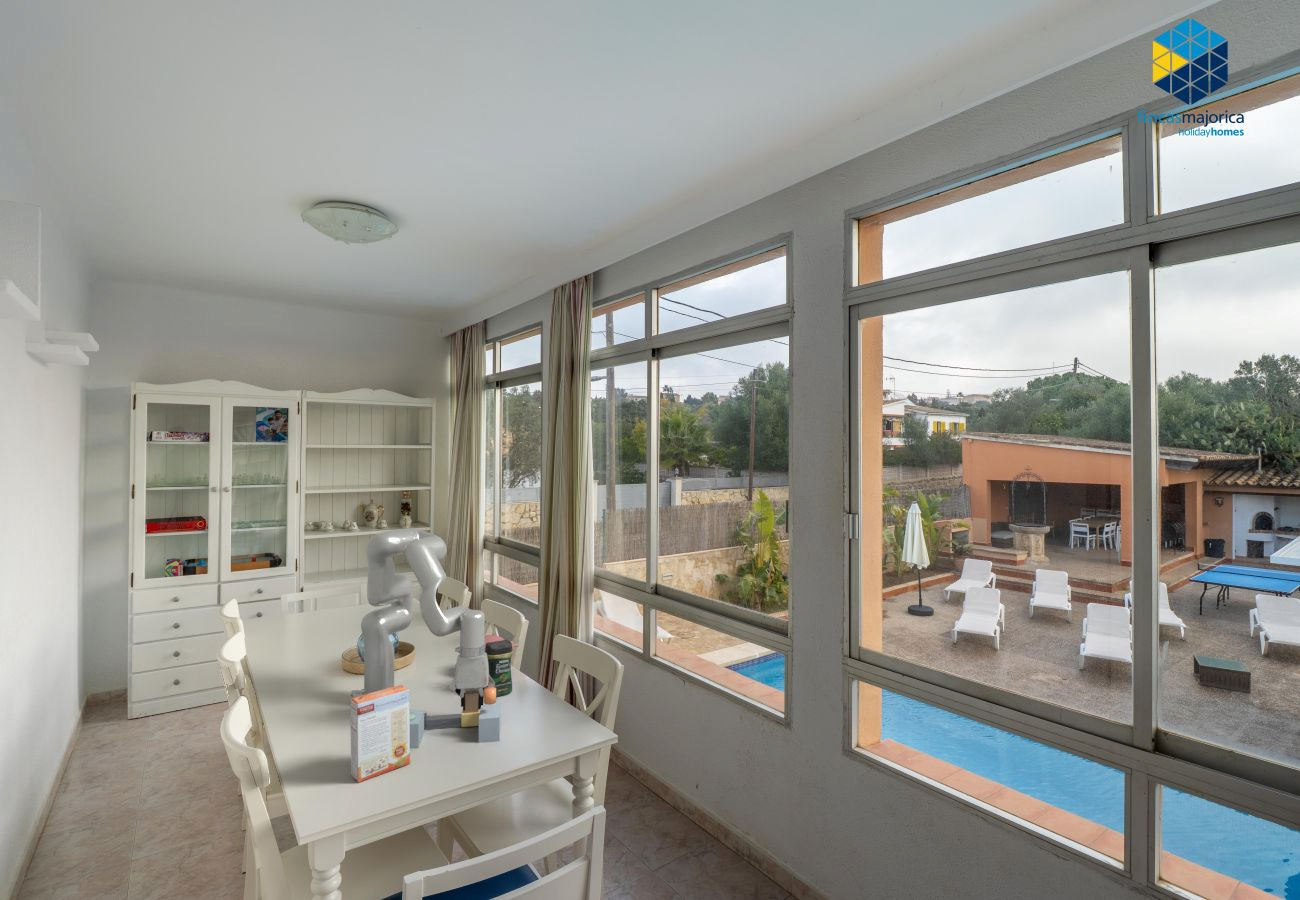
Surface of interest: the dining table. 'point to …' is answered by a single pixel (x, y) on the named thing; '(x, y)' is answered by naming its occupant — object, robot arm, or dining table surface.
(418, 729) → the cabinet near
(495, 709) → the cabinet far
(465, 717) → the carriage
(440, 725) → the rail
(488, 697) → the orange rounded cube
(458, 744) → the dining table surface
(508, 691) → the coffee jar
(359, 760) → the cracker box
